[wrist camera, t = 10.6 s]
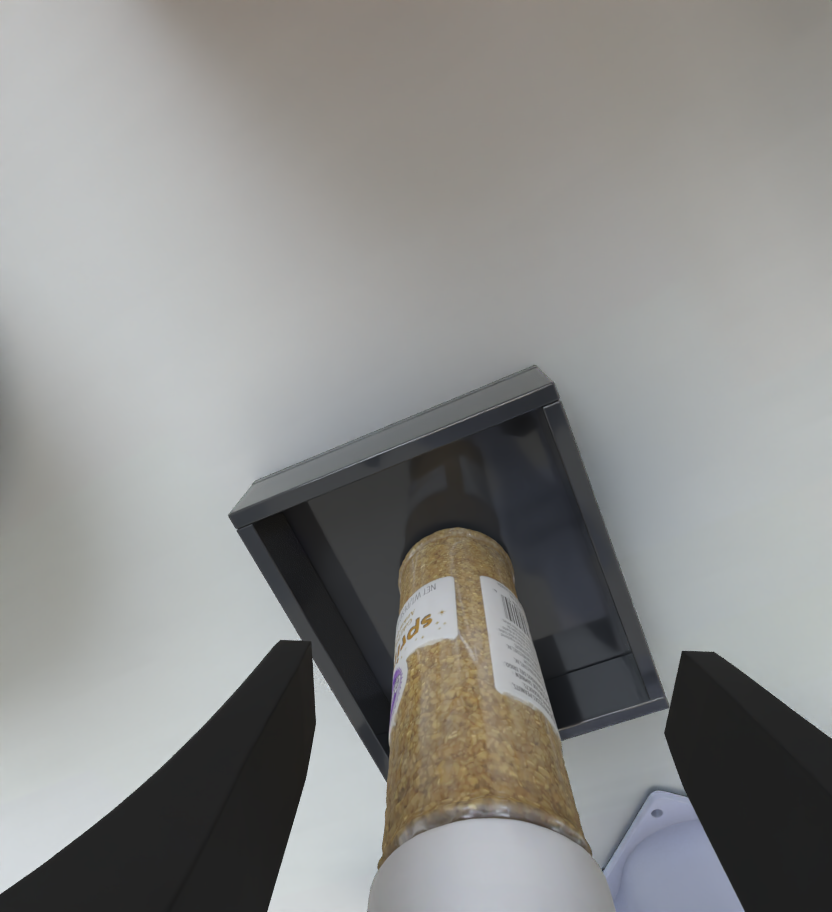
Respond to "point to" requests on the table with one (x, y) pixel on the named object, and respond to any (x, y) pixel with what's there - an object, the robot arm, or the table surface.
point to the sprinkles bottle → (475, 750)
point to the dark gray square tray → (443, 507)
